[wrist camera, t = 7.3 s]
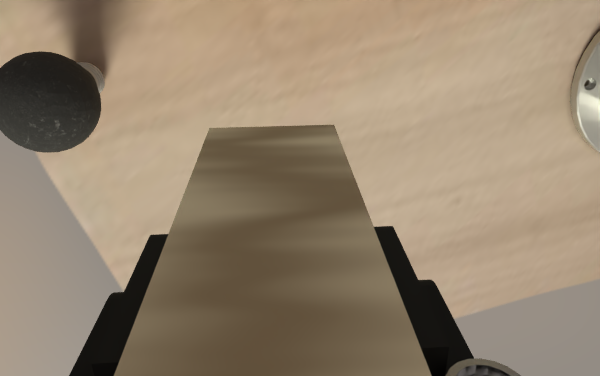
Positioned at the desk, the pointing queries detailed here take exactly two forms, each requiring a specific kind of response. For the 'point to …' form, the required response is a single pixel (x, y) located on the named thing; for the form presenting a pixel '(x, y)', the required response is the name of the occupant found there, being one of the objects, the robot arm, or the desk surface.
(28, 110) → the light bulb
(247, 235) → the block
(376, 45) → the desk surface
